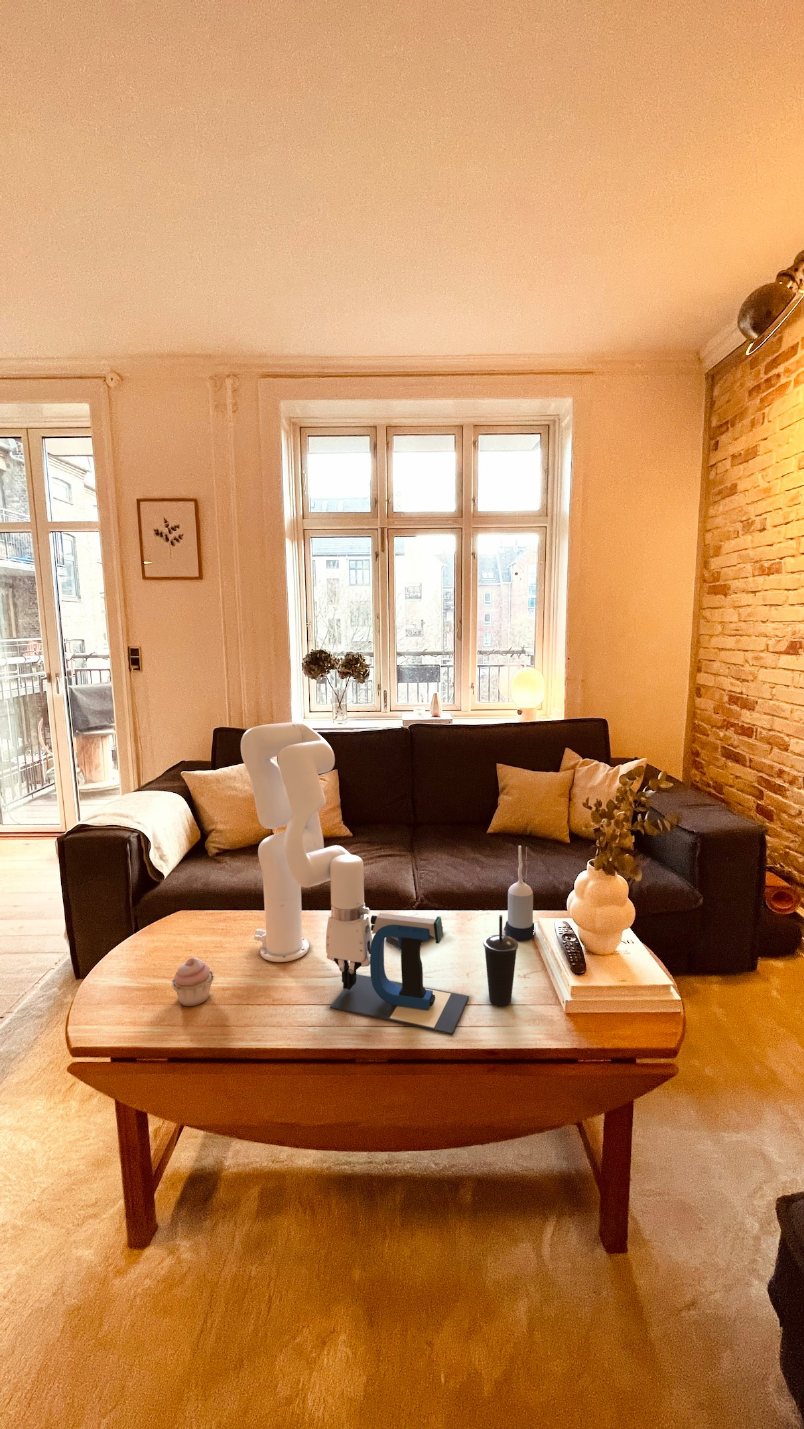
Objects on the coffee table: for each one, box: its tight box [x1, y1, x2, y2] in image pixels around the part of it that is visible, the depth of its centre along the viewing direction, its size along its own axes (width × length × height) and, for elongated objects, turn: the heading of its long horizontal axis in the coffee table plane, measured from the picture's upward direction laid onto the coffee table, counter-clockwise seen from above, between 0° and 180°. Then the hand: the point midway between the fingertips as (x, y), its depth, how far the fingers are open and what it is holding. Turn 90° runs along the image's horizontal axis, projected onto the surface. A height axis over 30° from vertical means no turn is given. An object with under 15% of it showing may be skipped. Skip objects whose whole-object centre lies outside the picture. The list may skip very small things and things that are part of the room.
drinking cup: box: [482, 914, 519, 1008], centre depth 134 cm, size 8×8×20 cm
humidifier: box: [503, 845, 535, 942], centre depth 165 cm, size 8×8×25 cm
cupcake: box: [171, 957, 215, 1007], centre depth 137 cm, size 9×9×10 cm
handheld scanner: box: [369, 912, 444, 1010], centre depth 133 cm, size 5×16×20 cm, turn 75°
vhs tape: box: [385, 926, 444, 949], centre depth 165 cm, size 14×8×2 cm, turn 132°
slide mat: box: [329, 973, 470, 1035], centre depth 135 cm, size 28×14×1 cm, turn 70°
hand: (349, 985), depth 139 cm, fingers closed
